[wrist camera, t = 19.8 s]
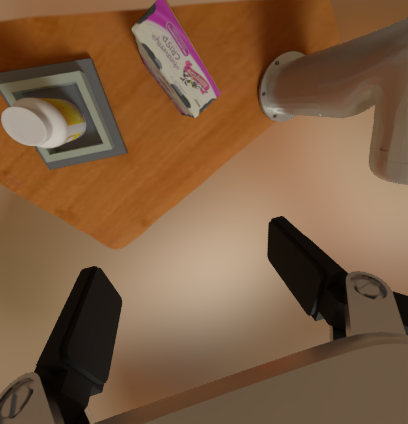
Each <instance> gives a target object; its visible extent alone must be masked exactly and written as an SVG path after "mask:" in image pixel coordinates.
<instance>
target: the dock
mask: <svg viewBox="0 0 408 424" xmlns="http://www.w3.org/2000/svg"><path fill="white" fill-rule="evenodd" d="M0 93H1V95H2V97H3V98H4V100H5V101H6V103H7V104H8V106H9V107H12V105H13V104H14V103H15V102H16V101H18V100H19V99H23V98H49V99H62V100H66V101H69V102H71V103H72V104H74V105H75V106H76V107H78V108H79V110H80V111H81V112H82V113H83V115H84V117H85V120H86V130H85V132H84V134H83V135H82V136H81V137H79V138H77V139H75V140H72V141H70V142H67V143H65V144H62V145H60V146H58V147H55V148H42V147H38V146H35V148H36V150H37V151H38V153H39V154H40V156H41V157H42V159H43V160H44V162H45V164H46V165H47V167H48V168H49V170H51V169H56V168H60V167H65V166H70V165H74V164H79V163H84V162H89V161H93V160H98V159H103V158H107V157H112V156H117V155H121V154H126V153H128V152H127V149H126V147H125V144H124V141H123V139H122V136H121V134H120V131H119V128H118V126H117V123H116V120H115V118H114V115H113V113H112V110H111V107H110V105H109V102H108V100H107V97H106V94H105V92H104V89H103V86H102V84H101V81H100V79H99V76H98V73H97V71H96V68H95V65H94V63H93V60H92V59H91V58H88V59H82V60H76V61H69V62H63V63H57V64H51V65H45V66H38V67H32V68H26V69H20V70H14V71H7V72H1V73H0Z"/></svg>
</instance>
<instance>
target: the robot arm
mask: <svg viewBox="0 0 408 424" xmlns="http://www.w3.org/2000/svg"><path fill="white" fill-rule="evenodd" d="M275 63H276V65H275ZM262 93H263V95H262ZM259 103H260V107H261V109H262V111H263V113H264V114H265V115H266V116H267V117H268V118H269V119H271V120H274V121H287V120H290V119H292V118H293V117H295V116H296V115H304V116H318V117H332V118H333V117H335V118H345V117H351V116H354V115H357V114H359V113H361V112H363V111H365V110H367V109H369V108H370V107H372V106H373V105H375V113H374V124H373V131H372V138H371V144H370V154H369V166H370V169H371V171H372V172H373V173H374V175H376V176H377V177H379V178H381V179H383V180H386V181H389V182H393V183H398V184H405V185H408V17H407V18H405V19H403V20H401V21H399V22H396V23H394V24H392V25H390V26H387V27H385V28H382V29H380V30H377V31H375V32H372V33H370V34H367V35H364V36H361V37H358V38H355V39H352V40H350V41H347V42H344V43H341V44H338V45H336V46H333V47H330V48H327V49H324V50H321V51H318V52H315V53H312V54H309V55H304V54H303V53H301V52H297V51H289V52H286V53H284V54H281V55H279V56H278V57H277V58H275V59H274V60H273V61H272V62H271V63H270V64H269V66H268V67H267V68H266V70H265V72H264V74H263V76H262V79H261V82H260V86H259ZM273 115H274V116H273ZM267 255H268V259H269V261H270V262H271V264H272V265H273V267H274V268H275V270H276V271H277V272H278V274H279V275H280V277H281V278H282V280H283V281H284V282H285V284H286V285H287V287H288V288H289V290H290V291H291V292H292V294H293V295H294V297H295V298H296V299H297V301H298V302H299V304H300V305H301V307H302V308H303V309H304V311H305V312H306V313H307V314H308V315H309V316H310V315H311V316H312V317H313V318H314V320H315V321H318V320H321V319H325V320H326V322H327V323H328V324H329V325H330V342H328V343H325V344H322V345H319V346H315V347H312V348H309V349H306V350H303V351H300V352H297V353H294V354H291V355H288V356H285V357H283V358H280V359H277V360H274V361H271V362H268V363H265V364H262V365H259V366H256V367H253V368H250V369H248V370H245V371H242V372H239V373H236V374H233V375H230V376H227V377H224V378H222V379H219V380H216V381H213V382H210V383H207V384H204V385H201V386H198V387H195V388H193V389H190V390H187V391H184V392H181V393H178V394H175V395H173V396H170V397H167V398H164V399H161V400H158V401H155V402H153V403H150V404H147V405H144V406H141V407H139V408H136V409H133V410H130V411H127V412H124V413H122V414H119V415H116V416H113V417H110V418H108V419H105V420H102V421H100V422H97V423H96V422H95V420H94V418H93V416H92V414H91V412H90V410H89V408H88V402H89V397H90V396H92V395H95V394H98V393H101V392H102V391H103V386H104V383H106V381H107V379H108V376H109V370H110V366H111V360H112V355H113V349H114V344H115V339H116V334H117V328H118V323H119V318H120V312H121V307H122V299H121V297H120V295H119V294H118V292H117V291H116V289H115V288H114V286H113V285H112V284H111V282H110V281H109V280H108V278H107V276H106V275H105V274H104V272H103V271H102V269H101V268H97V267H96V266H93V267H89V268H85V269H83V270H81V272H80V274H79V276H78V278H77V280H76V282H75V284H74V287H73V289H72V291H71V293H70V296H69V297H68V299H67V301H66V304H65V305H64V308H63V310H62V312H61V314H60V316H59V318H58V320H57V322H56V324H55V327H54V329H53V331H52V333H51V335H50V337H49V339H48V341H47V343H46V345H45V348H44V350H43V352H42V354H41V356H40V358H39V360H38V363H37V364H36V366H37V367H36V369H35V371H34V373H33V372H31V373H26V374H24V375H22V376H20V377H18V378H17V379H16V380H14V381H13V382H12V383H10V385H8V386H7V387H6V388H5V389H4V390H3V392H2V393H1V394H0V424H408V296H406V295H403V294H400V293H396V292H393V291H392V290H391V289H390V287H389V286H388V285H387V284H386V283H385V282H384V281H383V280H381V279H380V278H378V277H376V276H374V275H372V274H369V273H366V272H360V271H357V272H351V273H349V274H348V273H347V272H346V271H345V270H344V269H342V268H341V267H340V266H339V265H338V264H337V263H336V262H335V261H334V260H332V259H331V258H330V257H329V256H328V255H327V254H326V253H325V252H323V251H322V250H321V249H320V248H319V247H318V246H317V245H316V244H314V243H313V242H312V241H311V240H310V239H309V238H308V237H306V236H305V235H303V234H302V233H301V232H300V231H299V230H298V229H297V228H295V227H294V226H293V225H292V224H291V223H290V222H289V221H288V220H287V219H286V218H284V217H283V216H280V217H276V218H273V219H271V222H269V228H268V254H267Z"/></svg>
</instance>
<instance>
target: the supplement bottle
mask: <svg viewBox="0 0 408 424" xmlns="http://www.w3.org/2000/svg"><path fill="white" fill-rule="evenodd" d="M1 122H2V125H3V127H4V129H5V131H6V132H7V133H8V134H9V135H10V136H11V137H12V138H13V139H14V140H16V141H18V142H19V143H22V144H24V145H28V146H38V147H42V148H55V147H58V146H60V145H62V144H65V143H67V142H70V141H72V140H75V139H77V138H79V137H81V136H82V135H83V134H84V132H85V130H86V120H85V117H84V115H83V113H82V112H81V111H80V110H79V108H78V107H76V106H75V105H74V104H72V103H71V102H69V101H66V100H62V99H49V98H23V99H19V100H18V101H16V102H15V103H14V104H13V105H12V107H8V108H7V109H5V110H4V111H3V113H2V116H1Z"/></svg>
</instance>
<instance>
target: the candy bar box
mask: <svg viewBox="0 0 408 424" xmlns="http://www.w3.org/2000/svg"><path fill="white" fill-rule="evenodd" d="M131 30H132V32H133V35H134V37H135V40H136V44H137V46H138V49H139V52H140V55H141V58H142V61H143V63H144V65H145V66H146V67H147V69H148V70H149V71H150V73H151V74H152V75H153V77H154V78H155V79H156V81H157V82H158V83H159V85H160V86H161V87H162V89H163V90H164V91H165V93H166V94H167V95H168V97H169V98H170V99H171V101H172V102H173V103H174V105H175V106H176V107H177V109H178V110H179V111H180V113H181V114H182V115H186V116H190V117H194V118H196V117H197V116H198V115H199V114H200V113H201V112H202V111H203V110H204V109H205V108H206V107H208V106H209V105H210V104H211V103H212V102H213V101H214V100H215V99H216V98H217V97H218V96H219V95H220V94H222V93H221V91H220V90H219V88H218V86H217V85H216V83H215V81H214V80H213V78H212V77H211V75H210V73H209V72H208V70H207V68H206V67H205V65H204V63H203V62H202V60H201V58H200V56H199V55H198V53H197V51H196V50H195V48H194V46H193V45H192V43H191V41H190V40H189V38H188V36H187V34H186V33H185V31H184V29H183V28H182V26H181V24H180V22H179V21H178V19H177V17H176V16H175V14H174V12H173V11H172V9H171V7H170V6H169V4H168V2H167V0H157V1H156V2H155V3H154V4H153V5H152V6H151V7H150V9H148V11H147V12H146V13H145V14H144V15H143V16H142V17H141V18H140V19H139V20H138V21H137V22H136V24H135V25H134V26H133V27H132V29H131Z"/></svg>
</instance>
